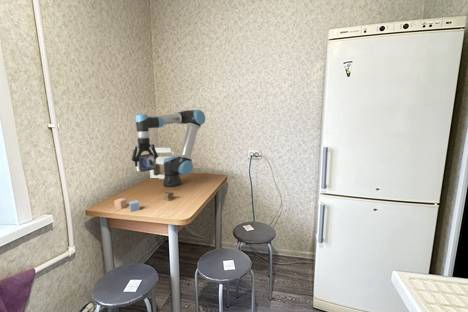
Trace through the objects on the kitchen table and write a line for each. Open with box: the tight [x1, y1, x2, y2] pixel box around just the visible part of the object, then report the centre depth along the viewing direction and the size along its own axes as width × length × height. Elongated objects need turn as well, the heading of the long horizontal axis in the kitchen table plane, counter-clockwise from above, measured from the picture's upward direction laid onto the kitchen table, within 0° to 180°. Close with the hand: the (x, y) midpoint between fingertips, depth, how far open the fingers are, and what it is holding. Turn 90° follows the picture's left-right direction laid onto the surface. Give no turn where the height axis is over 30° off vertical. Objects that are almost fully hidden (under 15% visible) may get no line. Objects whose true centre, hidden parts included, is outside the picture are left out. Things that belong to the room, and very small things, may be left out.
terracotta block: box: [113, 198, 128, 210], centre depth 157 cm, size 5×5×5 cm
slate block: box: [128, 199, 140, 212], centre depth 153 cm, size 5×5×5 cm
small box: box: [138, 153, 155, 173], centre depth 169 cm, size 11×6×10 cm, turn 139°
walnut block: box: [162, 191, 175, 202], centre depth 170 cm, size 5×5×5 cm
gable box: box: [149, 147, 177, 180], centre depth 229 cm, size 22×13×28 cm, turn 81°
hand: (146, 169), depth 170 cm, fingers closed on small box, 11 cm apart
